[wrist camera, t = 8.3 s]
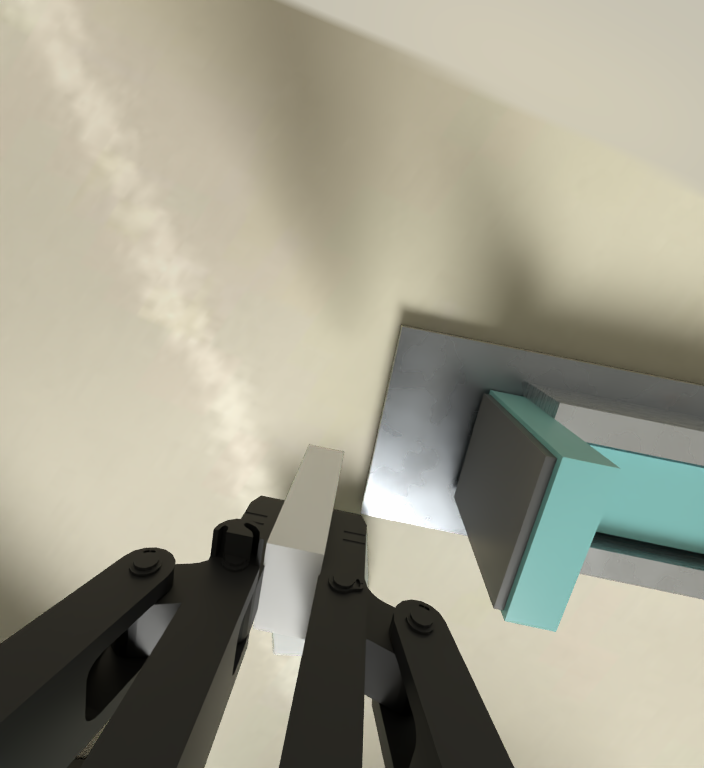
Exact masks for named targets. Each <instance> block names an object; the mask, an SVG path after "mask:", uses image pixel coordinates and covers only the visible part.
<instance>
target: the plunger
mask: <svg viewBox="0 0 704 768" xmlns="http://www.w3.org/2000/svg"><path fill="white" fill-rule="evenodd" d="M454 499H455V502H456V505H457V507H458V510H459V513H460V516H461V519H462V521H463V524H464V527H465V530H466V532H467V535H468V538H469V541H470V544H471V546H472V549H473V552H474V555H475V558H476V560H477V563H478V566H479V569H480V572H481V574H482V577H483V580H484V583H485V586H486V588H487V591H488V594H489V597H490V600H491V602H492V605H493V608H494V609H499V610H501V613H502V615H503V618H504V621H507V622H512V623H517V624H521V625H526V626H531V627H536V628H540V629H545V630H550V631H554V632H556V630H557V628H558V625H559V623H560V620H561V618H562V615H563V613H564V610H565V608H566V605H567V603H568V600H569V598H570V595H571V593H572V590H573V588H574V585H575V583H576V580H577V578H578V575H579V573H580V570H581V568H582V565H583V563H584V560H585V558H586V555H587V553H588V550H589V548H590V545H591V543H592V540H593V538H594V535H595V533H596V532H600V533H605V534H610V535H615V536H620V537H625V538H629V539H634V540H639V541H644V542H649V543H654V544H658V545H663V546H668V547H673V548H678V549H683V550H687V551H692V552H697V553H702V554H704V466H702V465H697V464H692V463H687V462H682V461H677V460H672V459H667V458H662V457H657V456H652V455H647V454H642V453H637V452H633V451H628V450H623V449H618V448H613V447H608V446H603V445H598V444H593V443H588V442H585V441H583V440H582V439H581V438H579V437H578V436H577V435H575V434H574V433H573V432H571V431H570V430H569V429H567V428H566V427H565V426H563V425H562V424H561V423H559V422H558V421H557V420H555V419H554V418H553V417H551V416H550V415H549V414H547V413H546V412H545V411H543V410H542V409H541V408H539V407H538V406H537V405H535V404H534V403H533V402H531V401H530V400H529V399H527V398H526V397H523V396H518V395H513V394H508V393H503V392H498V391H493V390H490V392H489V394H485V393H484V394H483V397H482V401H481V404H480V408H479V411H478V415H477V418H476V422H475V425H474V429H473V432H472V435H471V439H470V442H469V446H468V449H467V453H466V456H465V460H464V463H463V467H462V470H461V474H460V477H459V481H458V484H457V488H456V491H455V495H454Z"/></svg>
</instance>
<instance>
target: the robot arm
mask: <svg viewBox="0 0 704 768" xmlns="http://www.w3.org/2000/svg"><path fill="white" fill-rule="evenodd" d="M343 456H344V451H339V450H334V449H329V448H324V447H319V446H314V445H309V446H308V448H307V451H306V453H305V455H304V458H303V460H302V462H301V465H300V467H299V469H298V472H297V474H296V476H295V479H294V481H293V483H292V486H291V488H290V490H289V493H288V495H287V497H286V499H285V500H280V499H275V498H270V497H265V496H260V497H258V498H257V499H255V500H254V501H252V502H251V503H250V505H249V506H248V508H247V510H246V512H245V513H244V515H243V517H242V518H241V519H233V520H227V521H225V522H223V523H220V524H219V525H218V526H217V527H216V528H215V529H214V531H213V540H212V548H211V556H210V558H209V560H207V561H204V562H200V563H193V564H175V559H174V557H173V554H171V553H170V552H168V551H167V550H164V549H160V548H143V549H139V550H135V551H133V552H131V553H129V554H127V555H125V556H124V557H122V558H121V559H119V560H118V561H116V562H115V563H114V564H112V565H111V566H109V567H108V568H107V569H105V570H104V571H102V572H101V573H100V574H98V575H97V576H95V577H94V578H93V579H91V580H90V581H88V582H87V583H86V584H84V585H83V586H81V587H80V588H78V589H77V590H76V591H74V592H73V593H71V594H70V595H69V596H67V597H66V598H64V599H63V600H62V601H60V602H59V603H57V604H56V605H55V606H53V607H52V608H50V609H49V610H47V611H46V612H45V613H43V614H42V615H40V616H39V617H38V618H36V619H35V620H33V621H32V622H31V623H29V624H28V625H26V626H25V627H24V628H22V629H21V630H19V631H18V632H16V633H15V634H14V635H12V636H11V637H9V638H8V639H7V640H5V641H4V642H2V643H1V644H0V768H204V767H205V764H206V761H207V758H208V755H209V753H210V750H211V747H212V744H213V741H214V739H215V736H216V733H217V730H218V727H219V725H220V722H221V719H222V716H223V713H224V711H225V708H226V705H227V702H228V699H229V697H230V694H231V691H232V688H233V685H234V683H235V680H236V677H237V674H238V671H239V669H240V666H241V663H242V660H243V657H244V655H245V652H246V649H247V645H248V639H249V633H250V629H251V627H252V624H253V621H254V625H253V629H257V630H262V631H266V632H271V633H276V634H281V635H285V636H290V637H295V638H300V639H304V640H305V643H304V648H303V653H302V658H301V663H300V667H299V672H298V677H297V682H296V687H295V692H294V697H293V702H292V706H291V711H290V716H289V721H288V726H287V731H286V736H285V741H284V745H283V750H282V755H281V760H280V765H279V768H362V753H363V720H364V694H365V695H367V696H368V697H370V698H372V707H373V712H374V717H375V721H376V726H377V731H378V736H379V740H380V745H381V750H382V755H383V759H384V764H385V768H514V766H513V764H512V762H511V760H510V758H509V756H508V754H507V751H506V749H505V747H504V745H503V743H502V741H501V739H500V737H499V734H498V732H497V730H496V728H495V726H494V724H493V722H492V720H491V717H490V715H489V713H488V711H487V709H486V707H485V705H484V703H483V700H482V698H481V696H480V694H479V692H478V690H477V688H476V686H475V683H474V681H473V679H472V677H471V675H470V673H469V671H468V669H467V667H466V664H465V662H464V660H463V658H462V656H461V654H460V652H459V650H458V647H457V645H456V643H455V641H454V639H453V637H452V635H451V633H450V630H449V628H448V626H447V624H446V622H445V620H444V619H443V617H442V616H441V615H440V613H439V612H438V611H436V610H435V609H434V608H433V607H432V606H430V605H428V604H426V603H424V602H422V601H417V600H406V601H402V602H401V603H399V604H398V605H397V606H396V608H395V607H393V606H391V605H389V604H387V603H385V602H383V601H381V600H380V599H378V598H377V597H376V596H375V595H373V594H372V593H371V591H370V590H369V589H368V587H367V584H366V581H365V553H366V527H367V525H366V523H365V521H364V520H363V518H362V516H361V515H358V514H353V513H348V512H344V511H339V510H334V509H333V507H334V502H335V497H336V492H337V486H338V481H339V476H340V471H341V466H342V461H343ZM254 618H255V619H254ZM110 718H111V719H110ZM109 719H110V720H109ZM108 720H109V722H108V724H107V725H106V727H105V728H104V730H103V732H102V733H101V735H100V737H99V738H98V740H97V741H96V743H95V745H94V746H93V748H92V750H91V751H90V753H89V754H88V756H87V758H86V759H75V758H76V757H77V755H78V754H79V753H80V752H81V751H82V750H83V749H84V748H85V746H86V745H87V744H88V743H89V742H90V741H91V740H92V738H93V737H94V736H95V735H96V734H97V733H98V732H99V731H100V729H101V728H102V727H103V726H104V725H105V724H106V723H107V721H108Z"/></svg>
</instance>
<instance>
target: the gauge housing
mask: <svg viewBox="0 0 704 768" xmlns="http://www.w3.org/2000/svg"><path fill="white" fill-rule="evenodd" d="M490 390H493V391H498V392H503V393H508V394H513V395H518V396H523V397H526V398H527V399H529V400H530V401H531V402H533V403H534V404H535V405H537V406H538V407H539V408H541V409H542V410H543V411H545V412H546V413H547V414H549V415H550V416H551V417H553V418H554V419H555V420H557V421H558V422H559V423H561V424H562V425H563V426H565V427H566V428H567V429H569V430H570V431H571V432H573V433H574V434H575V435H577V436H578V437H579V438H581V439H582V440H583V441H585V442H588V443H593V444H598V445H603V446H608V447H613V448H618V449H623V450H628V451H633V452H637V453H642V454H647V455H652V456H657V457H662V458H667V459H672V460H677V461H682V462H687V463H692V464H697V465H702V466H704V385H701V384H696V383H691V382H686V381H681V380H676V379H671V378H666V377H661V376H656V375H651V374H646V373H641V372H636V371H631V370H626V369H621V368H616V367H611V366H606V365H601V364H596V363H590V362H585V361H580V360H575V359H570V358H565V357H560V356H555V355H550V354H545V353H540V352H535V351H530V350H525V349H520V348H515V347H510V346H505V345H500V344H495V343H490V342H485V341H480V340H475V339H470V338H465V337H460V336H455V335H450V334H445V333H440V332H435V331H430V330H425V329H420V328H415V327H410V326H404V325H401V328H400V333H399V337H398V342H397V346H396V351H395V356H394V360H393V365H392V369H391V374H390V378H389V383H388V387H387V392H386V396H385V401H384V405H383V410H382V414H381V419H380V423H379V428H378V432H377V437H376V441H375V446H374V450H373V455H372V459H371V464H370V468H369V473H368V477H367V482H366V486H365V491H364V495H363V500H362V504H361V514H365V515H369V516H374V517H379V518H384V519H388V520H393V521H398V522H403V523H408V524H412V525H417V526H422V527H427V528H432V529H436V530H441V531H446V532H451V533H456V534H460V535H465V536H468V535H467V532H466V530H465V527H464V524H463V521H462V519H461V516H460V513H459V510H458V507H457V505H456V502H455V499H454V495H455V491H456V488H457V484H458V481H459V477H460V474H461V470H462V467H463V463H464V460H465V456H466V453H467V449H468V446H469V442H470V439H471V435H472V432H473V429H474V425H475V422H476V418H477V415H478V411H479V408H480V404H481V401H482V397H483V394H484V393H485V394H489V392H490ZM579 574H584V575H589V576H593V577H598V578H603V579H608V580H613V581H617V582H622V583H627V584H632V585H636V586H641V587H646V588H651V589H656V590H660V591H665V592H670V593H675V594H679V595H684V596H689V597H694V598H699V599H703V600H704V554H702V553H697V552H692V551H687V550H683V549H678V548H673V547H668V546H663V545H658V544H654V543H649V542H644V541H639V540H634V539H629V538H625V537H620V536H615V535H610V534H605V533H600V532H596V533H595V535H594V538H593V540H592V543H591V545H590V548H589V550H588V553H587V555H586V558H585V560H584V563H583V565H582V568H581V570H580V573H579Z"/></svg>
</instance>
